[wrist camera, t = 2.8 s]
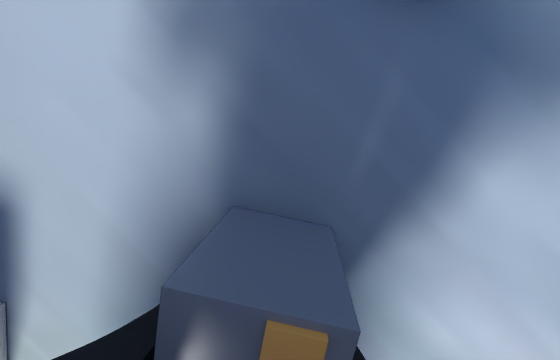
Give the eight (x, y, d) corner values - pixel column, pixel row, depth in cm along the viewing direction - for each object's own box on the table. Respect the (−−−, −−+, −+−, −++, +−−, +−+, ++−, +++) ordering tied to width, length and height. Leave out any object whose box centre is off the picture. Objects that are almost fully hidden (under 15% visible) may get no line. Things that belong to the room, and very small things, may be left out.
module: (296, 371, 12) (289, 584, 6) (210, 351, 12) (130, 540, 7) (331, 227, 11) (362, 340, 5) (233, 206, 11) (156, 292, 5)
